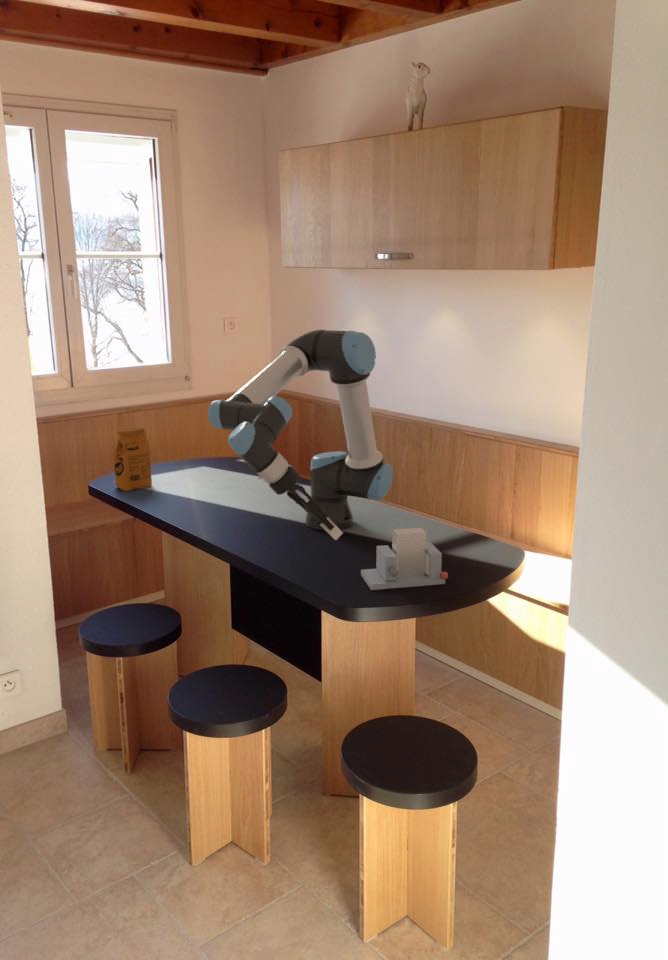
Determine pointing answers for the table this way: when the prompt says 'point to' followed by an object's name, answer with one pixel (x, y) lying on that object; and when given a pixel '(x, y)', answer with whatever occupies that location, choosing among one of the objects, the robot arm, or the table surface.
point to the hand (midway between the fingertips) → (338, 535)
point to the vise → (431, 576)
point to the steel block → (409, 551)
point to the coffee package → (132, 460)
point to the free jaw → (386, 563)
